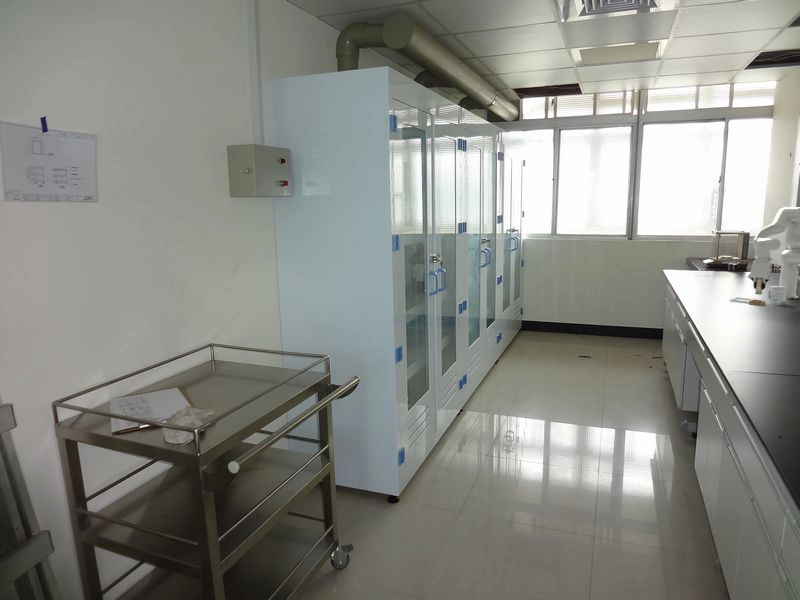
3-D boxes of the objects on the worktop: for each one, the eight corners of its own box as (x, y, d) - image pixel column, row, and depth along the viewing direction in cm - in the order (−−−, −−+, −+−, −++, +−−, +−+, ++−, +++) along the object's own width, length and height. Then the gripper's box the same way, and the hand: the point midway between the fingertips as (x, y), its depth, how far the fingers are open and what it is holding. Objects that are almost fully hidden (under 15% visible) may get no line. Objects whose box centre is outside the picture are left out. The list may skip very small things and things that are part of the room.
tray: (735, 299, 357) (736, 297, 357) (754, 301, 349) (755, 299, 349) (729, 301, 350) (729, 299, 349) (748, 304, 341) (748, 301, 341)
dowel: (756, 293, 340) (757, 277, 338) (762, 293, 337) (764, 278, 335) (754, 294, 337) (756, 278, 335) (760, 294, 335) (762, 278, 333)
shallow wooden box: (752, 303, 343) (752, 299, 342) (765, 305, 338) (765, 300, 337) (748, 305, 338) (749, 300, 338) (761, 306, 333) (762, 302, 333)
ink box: (771, 305, 336) (773, 287, 334) (766, 304, 341) (768, 285, 339) (786, 305, 335) (788, 286, 333) (781, 304, 340) (783, 285, 338)
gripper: (779, 259, 329) (776, 289, 333) (748, 258, 341) (746, 286, 345) (775, 261, 324) (772, 291, 328) (744, 259, 337) (742, 288, 340)
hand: (759, 288), depth 337 cm, fingers closed on dowel, 3 cm apart
